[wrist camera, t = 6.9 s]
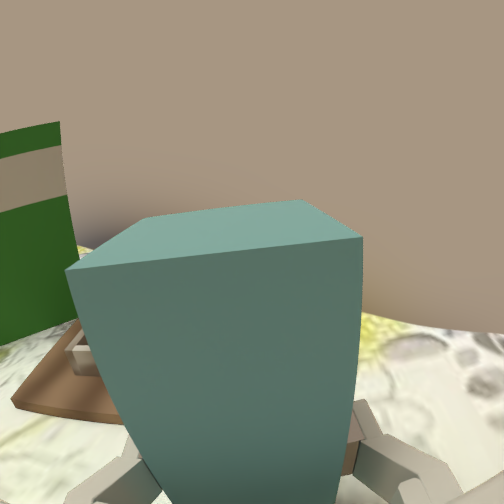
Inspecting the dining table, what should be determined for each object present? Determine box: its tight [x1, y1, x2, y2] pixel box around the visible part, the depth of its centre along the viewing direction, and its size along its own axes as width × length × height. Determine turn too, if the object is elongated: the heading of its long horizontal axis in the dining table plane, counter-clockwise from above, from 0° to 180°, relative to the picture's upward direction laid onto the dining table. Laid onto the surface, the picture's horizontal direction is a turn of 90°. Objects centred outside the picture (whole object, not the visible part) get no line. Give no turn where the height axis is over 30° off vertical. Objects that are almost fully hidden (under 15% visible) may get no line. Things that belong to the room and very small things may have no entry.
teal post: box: [65, 200, 363, 504], centre depth 8 cm, size 4×4×14 cm
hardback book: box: [0, 121, 80, 346], centre depth 29 cm, size 18×7×24 cm, turn 133°
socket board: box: [11, 318, 123, 424], centre depth 24 cm, size 18×16×4 cm
